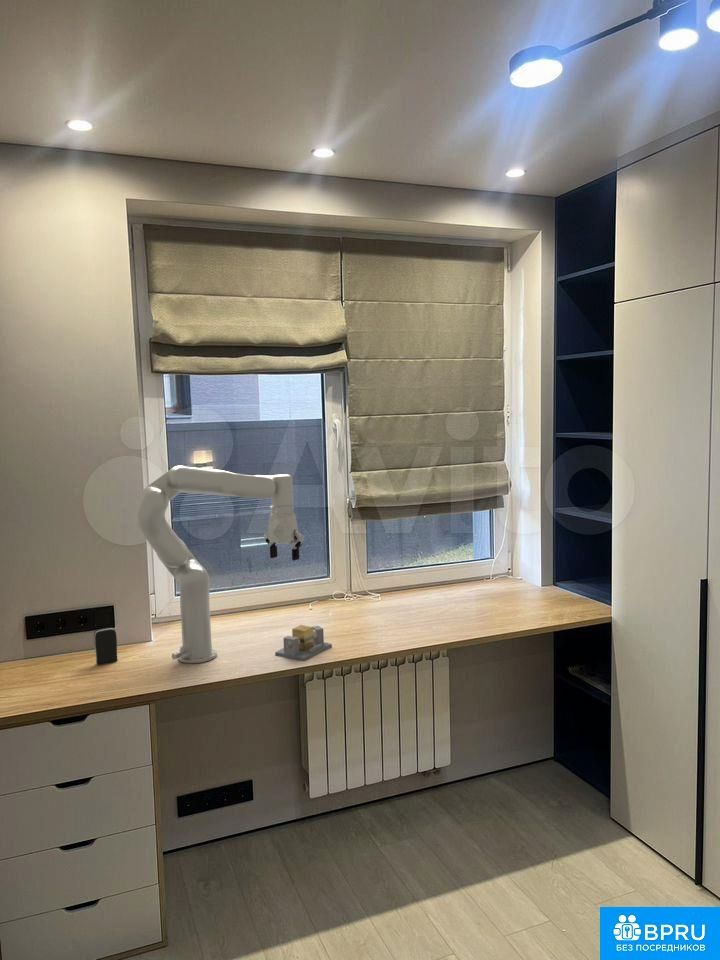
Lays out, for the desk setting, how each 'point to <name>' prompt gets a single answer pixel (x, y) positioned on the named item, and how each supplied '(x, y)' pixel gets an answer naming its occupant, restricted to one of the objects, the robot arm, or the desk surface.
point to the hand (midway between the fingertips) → (284, 558)
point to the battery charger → (105, 646)
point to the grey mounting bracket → (293, 650)
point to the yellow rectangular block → (304, 636)
